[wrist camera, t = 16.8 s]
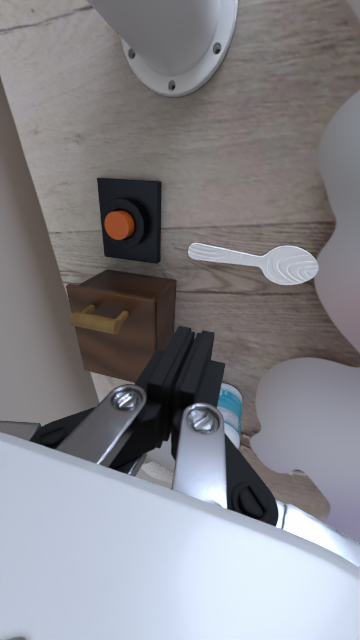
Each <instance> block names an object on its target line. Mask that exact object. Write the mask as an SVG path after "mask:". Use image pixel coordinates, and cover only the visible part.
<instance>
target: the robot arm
mask: <svg viewBox="0 0 360 640" xmlns="http://www.w3.org/2000/svg"><path fill="white" fill-rule="evenodd" d="M87 1H88V2H89V3H90V4H91V5H92V6H93V8H94V9H95V10H96V11H97V12H98V13H99V14H100V15H101V16H102V17H103V18H104V19H105V20H106V21H107V23H108V24H109V25H110V26H111V27H112V28H113V29H114V30H115V31H116V32H117V33H118V34H119V35H120V38H121V43H122V47H123V50H124V53H125V56H126V58H127V61H128V63H129V65H130V67H131V68H132V70H133V72H134V74H135V75H136V76H137V77H138V78H139V80H140V81H141V82H142V83H143V84H144V85H145V86H147V87H148V88H149V89H151V90H152V91H154V92H155V93H157V94H160V95H163V96H166V97H180V96H184V95H187V94H190V93H192V92H194V91H196V90H197V89H199V88H200V87H201V86H202V85H204V84H205V83H206V82H207V81H208V80H209V79H210V78H211V76H212V75H213V74H214V73H215V72H216V70H217V69H218V67H219V65H220V64H221V62H222V61H223V59H224V56H225V54H226V52H227V50H228V48H229V45H230V42H231V39H232V35H233V32H234V28H235V22H236V17H237V5H238V0H87ZM218 49H219V50H220V53H219V54H216V51H217V50H218ZM134 55H135V57H134ZM133 57H134V58H133ZM174 85H175V89H174V90H172V87H173V86H174ZM194 336H195V332H192V331H191V328H188V327H182V326H179V327H178V329H177V331H176V332H175V334H174V336H173V338H172V339H171V341H170V343H169V344H168V346H167V348H166V350H161V349H157V350H156V351H155V353H154V354H153V356H152V357H151V359H150V361H149V362H148V364H147V365H146V367H145V369H144V370H143V372H142V373H141V375H140V376H139V378H138V380H137V381H136V383H135V384H134V385H133V384H126V385H121V386H119V387H117V388H115V389H114V390H112V391H111V392H110V393H109V394H108V395H107V396H106V397H105V398H104V399H103V400H102V401H101V402H100V403H99V404H98V405H97V406H96V407H94V408H91V409H88V410H85V411H82V412H79V413H77V414H74V415H71V416H68V417H65V418H62V419H59V420H56V421H53V422H51V423H49V424H46V425H45V426H41V425H40V423H28V422H13V421H0V640H360V543H358V542H357V541H355V540H353V539H351V538H349V537H348V536H346V535H344V534H342V533H341V532H339V531H337V530H335V529H333V528H332V527H330V526H328V525H326V524H325V523H323V522H321V521H319V520H318V519H316V518H314V517H312V516H311V515H309V514H307V513H305V512H303V511H302V510H300V509H298V508H296V507H295V506H293V505H291V504H289V503H287V505H284V504H283V503H281V502H279V501H277V500H276V499H275V498H274V496H273V494H272V493H271V491H270V490H269V489H268V487H267V486H266V485H265V483H264V482H263V481H262V480H261V478H260V477H259V476H258V475H257V473H256V472H255V471H254V469H253V468H252V467H251V466H250V464H249V463H248V462H247V460H246V459H245V458H244V457H243V455H242V454H241V453H240V452H239V450H238V449H237V448H236V446H235V445H234V444H233V443H232V441H231V440H230V439H229V437H228V436H227V435H226V434H225V428H224V418H223V415H222V414H221V412H220V411H219V410H218V409H217V405H218V400H219V395H220V390H221V384H222V379H223V373H224V368H225V363H221V362H216V361H211V355H212V348H213V341H214V332H208V331H202V333H197V335H196V338H195V340H194ZM170 434H171V455H172V457H173V459H174V461H175V467H174V474H173V481H172V488H171V489H168V488H165V487H163V486H160V485H157V484H154V483H151V482H148V481H145V480H142V479H139V478H136V477H135V476H136V474H137V472H138V471H139V469H140V468H141V466H142V464H143V463H144V461H145V459H146V457H147V453H148V452H149V451H151V450H154V449H155V448H159V449H160V448H161V446H162V443H163V441H166V442H167V441H168V440H169V437H170Z"/></svg>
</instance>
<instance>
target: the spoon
mask: <svg viewBox="0 0 360 640" xmlns="http://www.w3.org/2000/svg"><path fill="white" fill-rule="evenodd" d="M188 254H189V256H190V257H191V258H193V259H195V260H205V261H211V262H212V261H214V262H221V263H222V262H223V263H231V264H232V263H233V264H240V265H250V266H257V267H260V268H261V269H262V271H263V273H264V275H265V276H266V277H267V278H268V279H269V280H271V281H272V282H274V283H277V284H281V285H294V284H298V283H303V282H306V281H308V280H310V279H312V278H314V276H315V275H316V274H317V272H318V268H319V267H318V263H317V261H316V259H315V258H314V257H313V256H312V255H311V254H310V253H309V252H307V251H305V250H304V249H301V248H298V247H296V246H289V245H288V246H287V245H286V246H279V247H276V248H274V249H272V250H270V251H269V252H268V253H267V254H266V255H264V256H257V255H251V254H248V253H242V252H238V251H233V250H228V249H224V248H219V247H215V246H210V245H205V244H201V243H193V244H191V245H190V247H189V249H188Z"/></svg>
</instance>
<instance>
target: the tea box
mask: <svg viewBox="0 0 360 640" xmlns="http://www.w3.org/2000/svg"><path fill="white" fill-rule="evenodd" d="M79 286H85V287H90V288H96V289H102V290H108V291H114V292H120V293H126V294H132V295H137V296H143V297H149V298H155V334H156V350H157V349H161V350H166V348H167V346H168V344H169V343H170V341H171V339H172V338H173V336H174V320H175V299H176V280H173V279H166V278H159V277H153V276H146V275H139V274H133V273H126V272H119V271H113V270H105V271H103V272H101V273H99V274H98V275H96V276H94V277H92V278H90V279H88V280H87V281H85V282H83V283H81V284H79Z"/></svg>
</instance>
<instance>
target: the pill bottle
mask: <svg viewBox="0 0 360 640" xmlns="http://www.w3.org/2000/svg"><path fill="white" fill-rule="evenodd" d="M217 409H218V410H219V411H220V412H221V414H222V415H223V418H224V428H225V434H226V435H227V436H228V437H229V439H230V440H231V441H232V443H233V444H234V445H235V446H236V448H237V449H238V448H239V444H240V430H241V416H242V396H241V394H240V393H239V391H238V390H237V389H236V388H234V387H233V386H231V385H228V384H225V383H222V384H221V390H220V395H219V400H218V405H217Z"/></svg>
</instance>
